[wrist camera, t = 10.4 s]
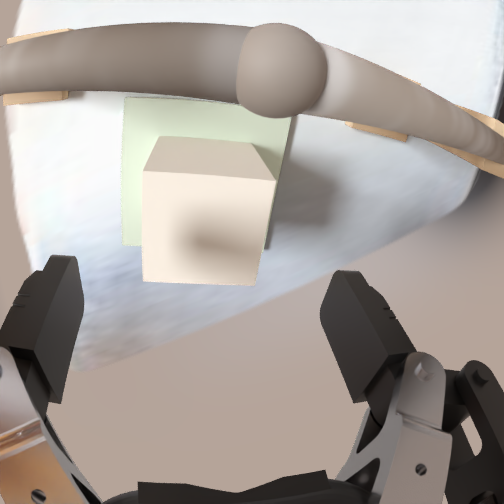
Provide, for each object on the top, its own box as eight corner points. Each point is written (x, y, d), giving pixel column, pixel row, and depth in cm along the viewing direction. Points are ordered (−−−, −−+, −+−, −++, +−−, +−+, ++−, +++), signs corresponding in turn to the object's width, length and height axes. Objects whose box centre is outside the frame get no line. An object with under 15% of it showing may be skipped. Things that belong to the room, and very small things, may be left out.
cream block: (159, 135, 16) (142, 171, 11) (251, 143, 17) (276, 181, 12) (155, 218, 19) (143, 281, 14) (238, 223, 20) (254, 285, 15)
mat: (126, 96, 15) (124, 97, 15) (289, 112, 17) (292, 113, 17) (123, 241, 20) (122, 245, 19) (261, 248, 22) (262, 252, 21)
